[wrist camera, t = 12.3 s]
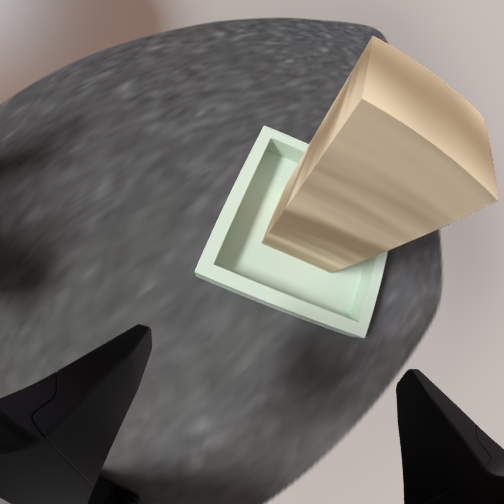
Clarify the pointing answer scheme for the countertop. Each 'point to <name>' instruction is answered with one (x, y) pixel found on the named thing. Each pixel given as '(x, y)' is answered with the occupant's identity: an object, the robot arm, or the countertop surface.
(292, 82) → the countertop surface
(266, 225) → the green tray
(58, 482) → the robot arm
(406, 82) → the beech block
